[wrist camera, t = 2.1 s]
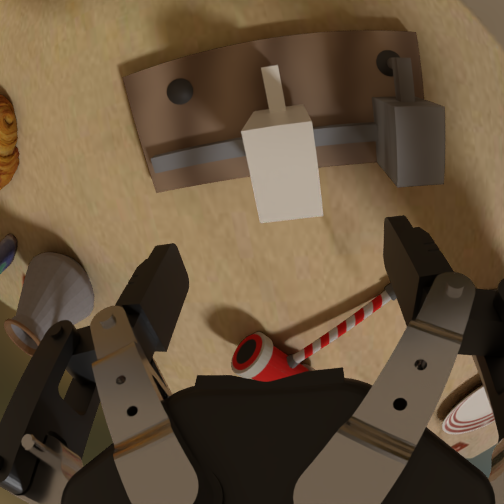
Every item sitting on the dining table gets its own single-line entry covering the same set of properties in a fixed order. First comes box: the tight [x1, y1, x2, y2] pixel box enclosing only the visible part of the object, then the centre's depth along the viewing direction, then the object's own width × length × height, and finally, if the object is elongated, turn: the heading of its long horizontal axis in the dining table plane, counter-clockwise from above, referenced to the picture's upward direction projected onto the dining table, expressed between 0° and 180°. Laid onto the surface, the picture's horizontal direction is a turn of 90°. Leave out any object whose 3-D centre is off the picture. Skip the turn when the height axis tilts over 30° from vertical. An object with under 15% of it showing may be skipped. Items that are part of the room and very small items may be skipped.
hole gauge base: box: [123, 30, 445, 193], centre depth 22 cm, size 26×12×8 cm, turn 101°
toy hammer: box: [231, 283, 397, 382], centre depth 38 cm, size 23×12×6 cm, turn 136°
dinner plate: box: [442, 385, 495, 434], centre depth 49 cm, size 28×27×3 cm
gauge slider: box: [241, 65, 323, 223], centre depth 21 cm, size 4×10×9 cm, turn 11°
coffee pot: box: [4, 252, 94, 356], centre depth 34 cm, size 21×12×15 cm, turn 74°
